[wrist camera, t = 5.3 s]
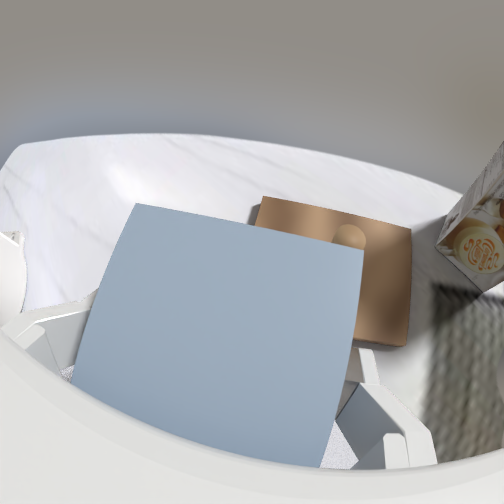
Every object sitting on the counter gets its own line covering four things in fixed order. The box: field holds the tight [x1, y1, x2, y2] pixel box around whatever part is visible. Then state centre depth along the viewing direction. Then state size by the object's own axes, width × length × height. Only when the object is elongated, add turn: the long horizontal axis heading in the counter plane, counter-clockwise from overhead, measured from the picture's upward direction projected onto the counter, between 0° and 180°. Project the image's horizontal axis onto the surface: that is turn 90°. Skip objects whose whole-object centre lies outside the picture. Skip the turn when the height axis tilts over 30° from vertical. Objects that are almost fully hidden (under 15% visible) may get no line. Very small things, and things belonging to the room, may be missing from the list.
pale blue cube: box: [71, 203, 364, 468], centre depth 9 cm, size 6×6×8 cm
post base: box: [255, 196, 412, 347], centre depth 22 cm, size 16×12×7 cm
